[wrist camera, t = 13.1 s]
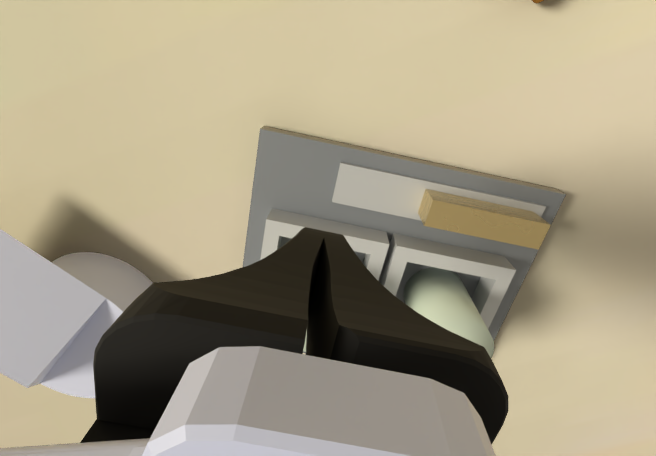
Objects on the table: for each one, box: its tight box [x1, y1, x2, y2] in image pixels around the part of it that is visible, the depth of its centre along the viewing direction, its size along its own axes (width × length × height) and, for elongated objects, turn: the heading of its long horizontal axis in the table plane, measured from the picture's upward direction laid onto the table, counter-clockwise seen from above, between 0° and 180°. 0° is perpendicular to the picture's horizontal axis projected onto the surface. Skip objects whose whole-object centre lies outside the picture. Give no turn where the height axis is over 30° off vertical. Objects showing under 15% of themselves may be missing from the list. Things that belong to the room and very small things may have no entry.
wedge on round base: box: [0, 229, 153, 398], centre depth 22 cm, size 9×7×13 cm
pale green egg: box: [404, 267, 494, 358], centre depth 20 cm, size 4×4×5 cm
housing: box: [243, 126, 566, 353], centre depth 20 cm, size 14×16×6 cm
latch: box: [418, 189, 551, 250], centre depth 19 cm, size 1×6×2 cm, turn 78°
